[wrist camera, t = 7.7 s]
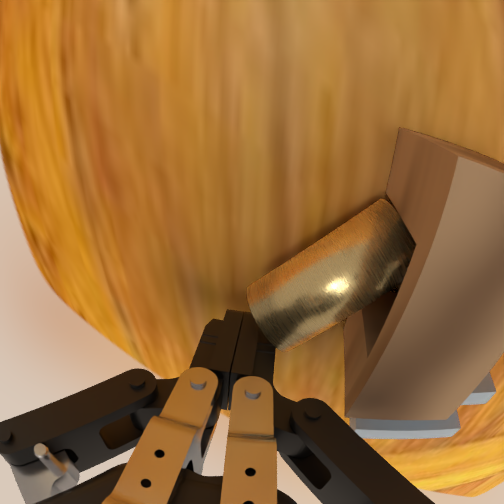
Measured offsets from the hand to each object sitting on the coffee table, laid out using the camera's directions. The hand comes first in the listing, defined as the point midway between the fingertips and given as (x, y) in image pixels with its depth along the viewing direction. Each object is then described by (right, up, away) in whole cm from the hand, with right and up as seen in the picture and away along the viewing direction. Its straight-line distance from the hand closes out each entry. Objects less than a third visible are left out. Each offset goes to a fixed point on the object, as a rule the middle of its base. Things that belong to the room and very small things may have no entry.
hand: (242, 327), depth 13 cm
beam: (+8, +3, -1) cm, 9 cm away
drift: (+4, +2, -1) cm, 5 cm away
